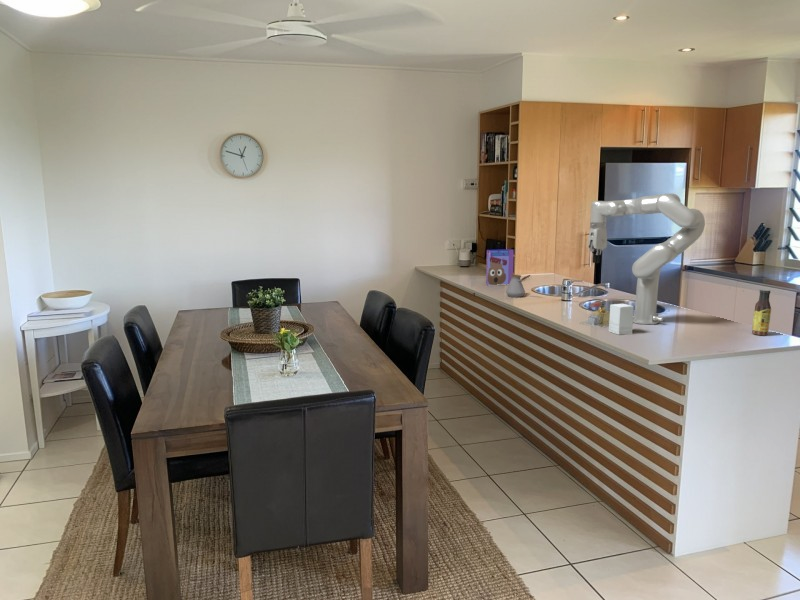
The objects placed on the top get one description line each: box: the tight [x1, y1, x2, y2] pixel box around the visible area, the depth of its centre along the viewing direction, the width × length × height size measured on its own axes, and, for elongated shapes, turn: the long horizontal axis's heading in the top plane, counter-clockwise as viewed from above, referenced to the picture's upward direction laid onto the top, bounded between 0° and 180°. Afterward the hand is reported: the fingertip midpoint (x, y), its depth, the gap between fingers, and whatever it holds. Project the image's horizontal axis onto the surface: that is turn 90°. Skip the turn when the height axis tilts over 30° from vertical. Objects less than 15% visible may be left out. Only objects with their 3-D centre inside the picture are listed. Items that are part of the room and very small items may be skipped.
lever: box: [589, 299, 607, 308], centre depth 284 cm, size 13×3×3 cm, turn 138°
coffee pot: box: [505, 274, 533, 298], centre depth 357 cm, size 21×12×15 cm, turn 21°
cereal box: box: [485, 248, 515, 286], centre depth 406 cm, size 17×5×24 cm, turn 104°
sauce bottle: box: [751, 289, 772, 336], centre depth 263 cm, size 7×6×20 cm
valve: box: [578, 306, 610, 329], centre depth 289 cm, size 12×19×8 cm, turn 130°
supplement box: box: [608, 303, 635, 336], centre depth 268 cm, size 7×7×13 cm
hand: (596, 262), depth 302 cm, fingers closed
